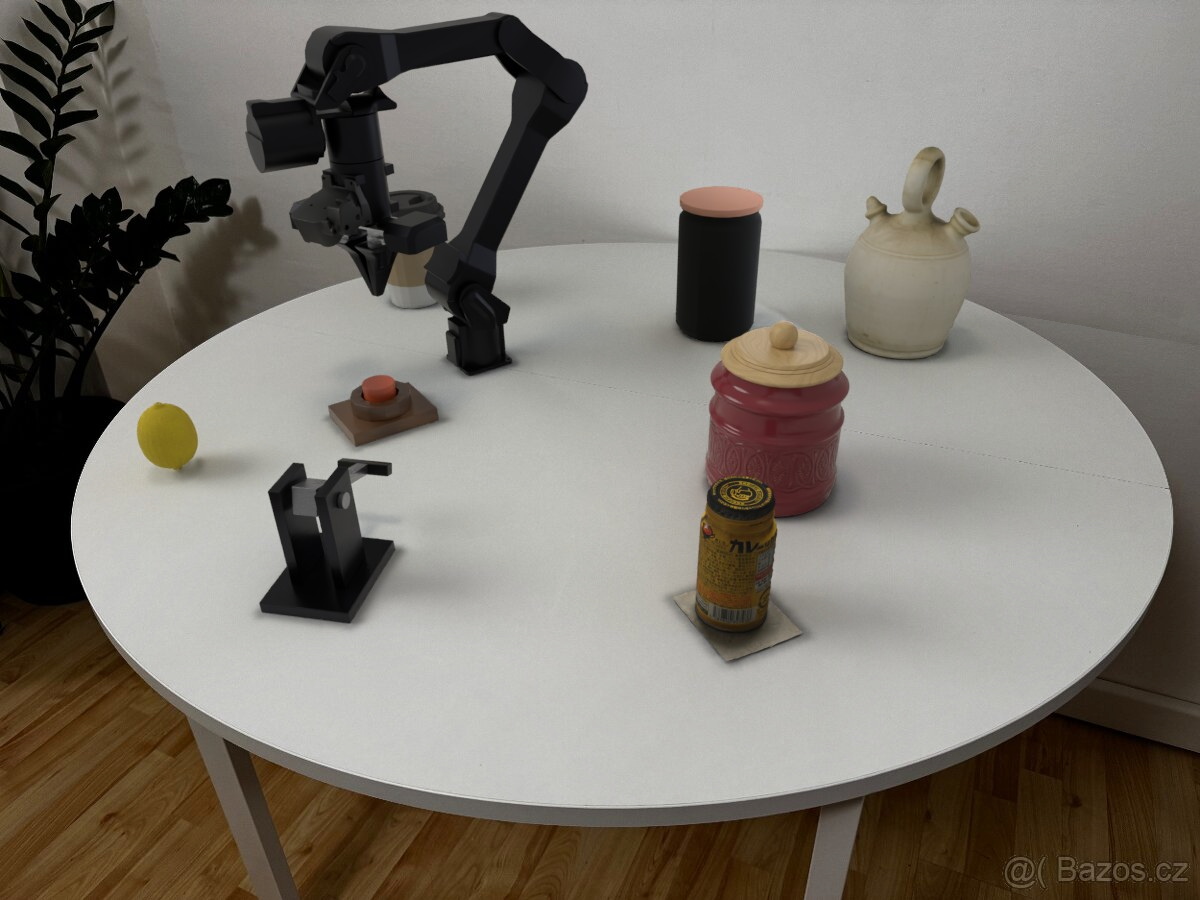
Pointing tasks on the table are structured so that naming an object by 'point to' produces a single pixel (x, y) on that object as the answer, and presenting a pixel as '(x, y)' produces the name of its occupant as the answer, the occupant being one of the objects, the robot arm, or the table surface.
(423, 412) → the button block
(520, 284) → the table surface
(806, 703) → the table surface
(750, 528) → the condiment
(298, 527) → the lever bracket
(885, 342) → the jug
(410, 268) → the coffee cup
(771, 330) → the kitchen canister
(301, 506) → the control lever
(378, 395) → the button
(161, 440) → the lemon
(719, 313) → the coffee jar
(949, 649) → the table surface
